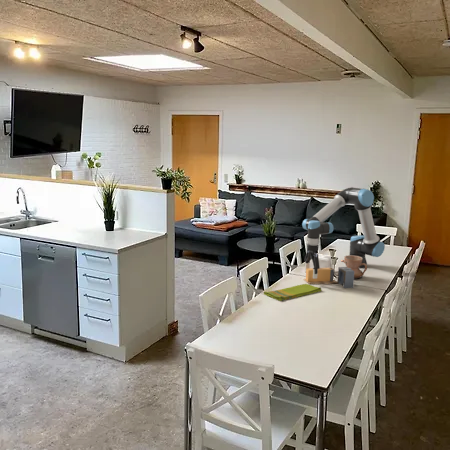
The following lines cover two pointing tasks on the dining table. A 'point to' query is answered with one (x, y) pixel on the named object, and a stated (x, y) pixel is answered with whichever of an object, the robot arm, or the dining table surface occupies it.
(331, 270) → the plug
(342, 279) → the block
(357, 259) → the ceramic jug
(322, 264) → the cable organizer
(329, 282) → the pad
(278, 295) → the dish towel
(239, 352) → the dining table surface
